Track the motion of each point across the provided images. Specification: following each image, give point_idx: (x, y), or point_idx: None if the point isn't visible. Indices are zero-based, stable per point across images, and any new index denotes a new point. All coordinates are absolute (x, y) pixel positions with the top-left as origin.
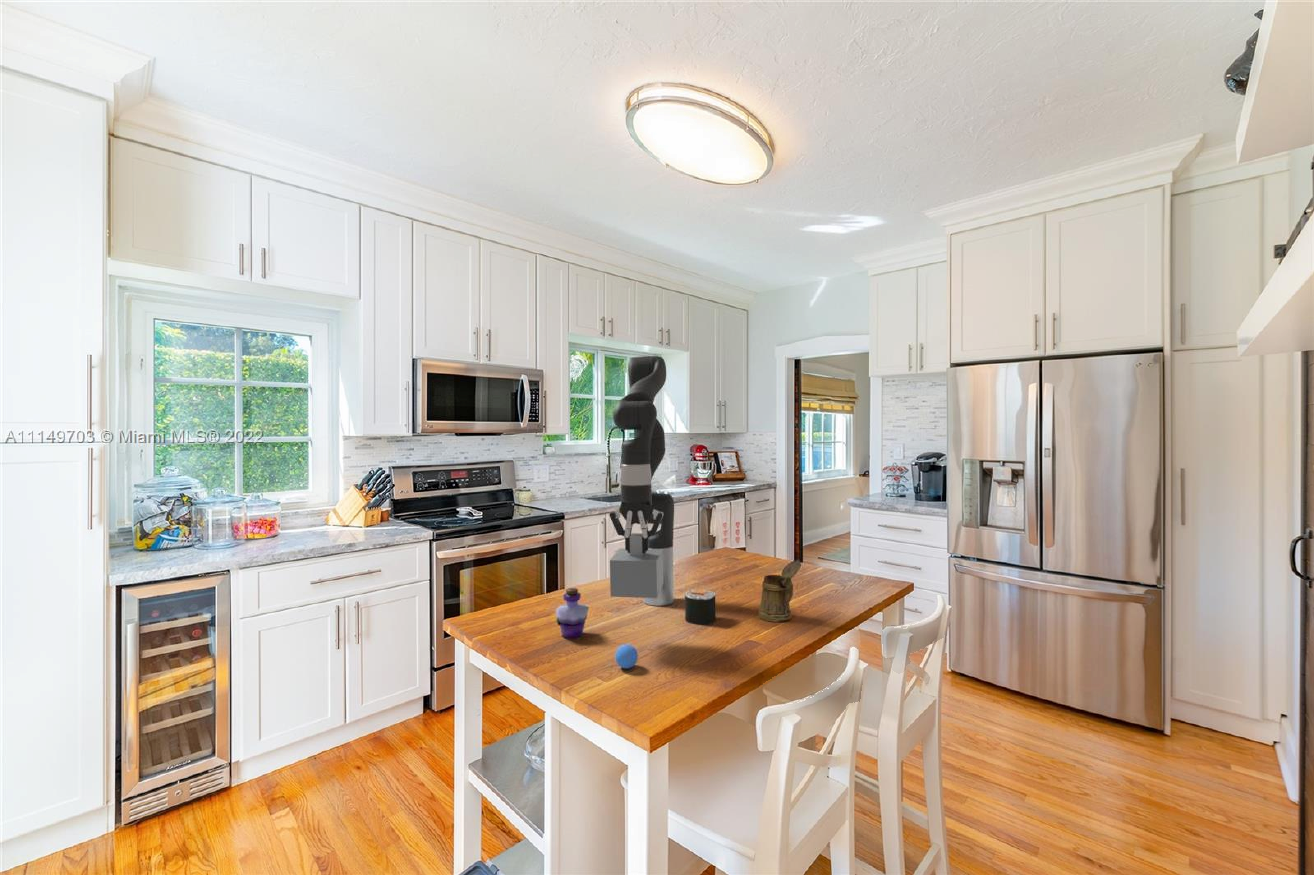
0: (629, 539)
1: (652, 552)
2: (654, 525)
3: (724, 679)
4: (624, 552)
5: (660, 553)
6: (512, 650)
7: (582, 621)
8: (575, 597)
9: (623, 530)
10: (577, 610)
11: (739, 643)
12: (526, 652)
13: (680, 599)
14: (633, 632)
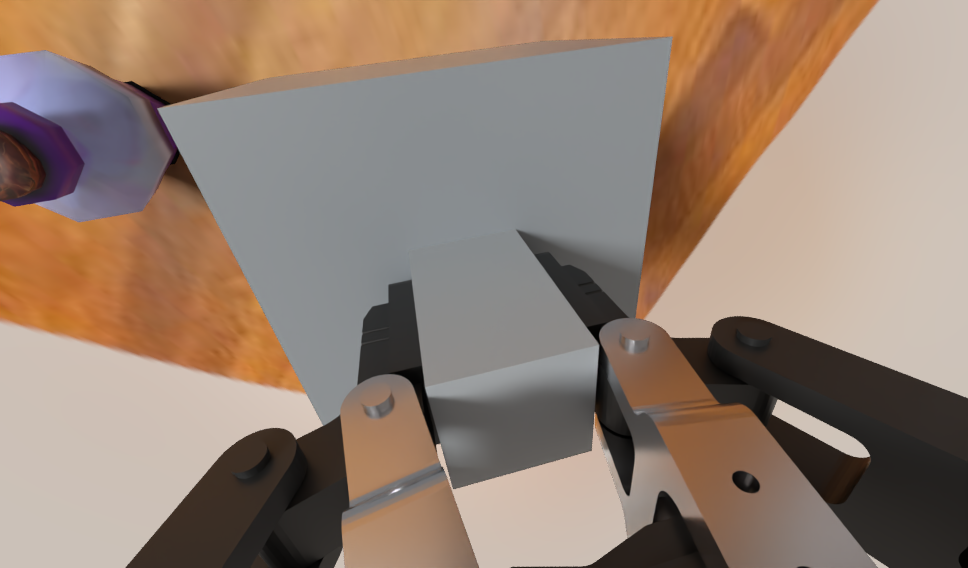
0: (435, 433)
1: (581, 189)
2: (842, 516)
3: (648, 278)
4: (326, 257)
5: (649, 203)
6: (63, 307)
7: (171, 157)
8: (64, 184)
9: (333, 528)
10: (128, 181)
11: (708, 50)
12: (122, 304)
13: None
14: (351, 29)
